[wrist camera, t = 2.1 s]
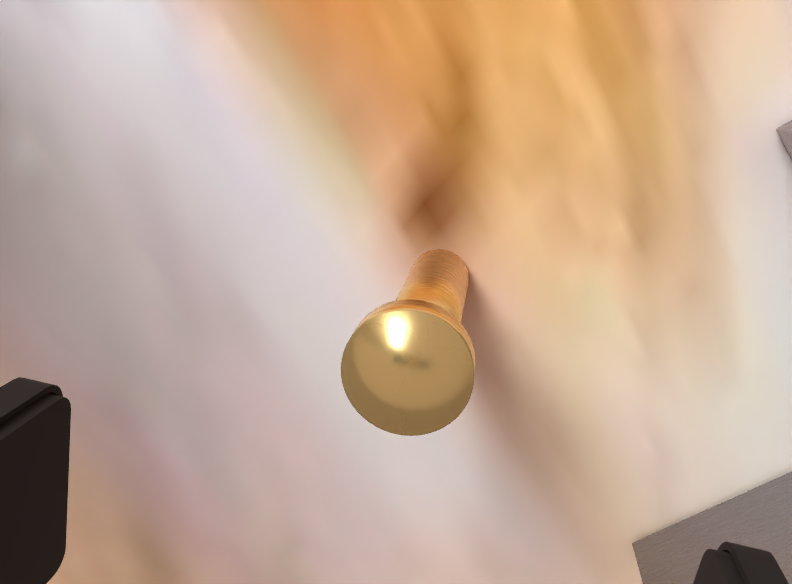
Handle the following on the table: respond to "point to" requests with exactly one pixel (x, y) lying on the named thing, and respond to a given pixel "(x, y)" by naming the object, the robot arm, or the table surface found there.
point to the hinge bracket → (724, 521)
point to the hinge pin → (414, 352)
